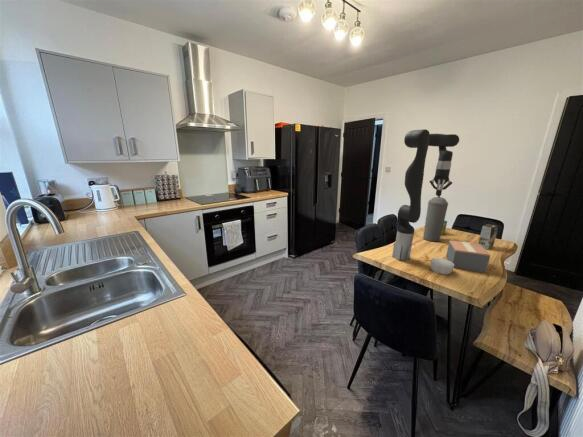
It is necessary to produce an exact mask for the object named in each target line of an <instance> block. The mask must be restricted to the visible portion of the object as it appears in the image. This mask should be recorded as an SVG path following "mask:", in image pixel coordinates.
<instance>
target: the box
mask: <svg viewBox="0 0 583 437" xmlns="http://www.w3.org/2000/svg"><path fill="white" fill-rule="evenodd" d="M445 257H446V260H449V261H451V262H452V263H454V267H453V269H454V268H455V269H460V270H465V271H466V270H467V271H472V272H479V273H484V274H486V273H487V269H488V265H489V263H490V262H489V261H490V258H491V255H490V256H485V255H478V254H471V253H464V252H457V251H455V250H454V248H453V247H452V245H451V244H450V242H448V245H447V251H446V255H445Z"/></svg>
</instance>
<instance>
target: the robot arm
mask: <svg viewBox="0 0 583 437" xmlns="http://www.w3.org/2000/svg"><path fill="white" fill-rule="evenodd" d="M403 141H404V145H405V146H406V147H407V148H410V149H411V148H412V149H416V153H415V156H414V159H413V161H412V162H411V163H410V165H409V166H408V167H407V169H406V171H405V175H404V187H405V189H406V192H407V194H408V196H409V203H410V204H403V205H401V206H400V207H399V208H398V211H397V218H396V227H397V229H396V230H397V231H396V237H395V242H393V249H392V257H393V258H395V259H396V260H398V261H403V262H404V261H409V260H410V259H411V253H412V246H413V240H414V235H415V228H414V226H412V225H411V223H412V224H415V223H418V221H419V220H420V217H421V210H422V208H421V207H422V191H423V184H424V174H425V167H426V166H425V165H426V160H427V159H426V158H427V153H428V150H429V147H438V153H439V154H438V159H437V160H438V161H437V162H436V166H435V167H436V168H435V174H434V177H433V179H431V180H429V182H428V183H430V185H431V187H432V188H433V189H434V190H435V191H436V192H435V196H436V197H438V196H440V197H441V195H442V192H443V191H444V190H446V189H448V188H449V187H450V186H451V185H452V184H453V182H452V181H451V180H450V172H451V169H452V168H451V167H452V159H453V155H454V153H453V151H451V150H448V149H447V147H449V148H453V147H455V146H457V145H458V144H459V143H460V137H459V135H457V134H446V133H445V134H444V133H430V131H429V130H428V129H413V130H409V131H408V132H407V133H406V134H405V135H404V140H403ZM434 183H435V184H436V185H435V184H434Z"/></svg>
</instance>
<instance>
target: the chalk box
mask: <svg viewBox="0 0 583 437" xmlns="http://www.w3.org/2000/svg"><path fill="white" fill-rule="evenodd" d="M447 223H448V221H447V220H446V219H445V220H444V224H443V228H442V232H441V236H442V235H445V233H446V229H447V226H448V225H447Z"/></svg>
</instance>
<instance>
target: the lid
mask: <svg viewBox="0 0 583 437" xmlns="http://www.w3.org/2000/svg"><path fill="white" fill-rule="evenodd" d="M449 242H450V244H451V245H452V247H453V248H454V250H455V251H457V252H464V253H471V254H478V255H485V256H490V257H491V254H490V253H489V252H488V250H486V249H484V247H483V246H482V245H481V244H478V243H473V242H467V241H458V240H451V239H450V240H449ZM449 242H448V243H449Z"/></svg>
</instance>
